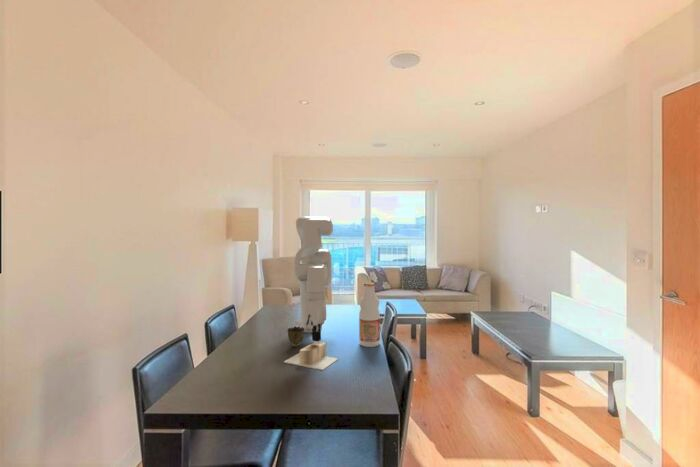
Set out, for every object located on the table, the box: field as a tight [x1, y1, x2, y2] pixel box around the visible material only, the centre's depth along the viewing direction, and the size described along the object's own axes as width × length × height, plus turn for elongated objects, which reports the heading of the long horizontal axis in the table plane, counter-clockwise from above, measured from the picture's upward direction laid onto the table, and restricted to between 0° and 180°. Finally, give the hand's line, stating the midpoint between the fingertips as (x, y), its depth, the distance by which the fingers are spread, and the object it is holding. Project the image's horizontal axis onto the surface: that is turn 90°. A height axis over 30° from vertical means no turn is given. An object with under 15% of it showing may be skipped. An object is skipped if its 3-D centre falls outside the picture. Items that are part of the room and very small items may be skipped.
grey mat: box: [283, 352, 339, 371], centre depth 137 cm, size 18×12×1 cm, turn 64°
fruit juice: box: [358, 282, 381, 348], centre depth 157 cm, size 9×9×28 cm
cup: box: [287, 326, 305, 348], centre depth 154 cm, size 8×7×8 cm
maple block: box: [299, 341, 327, 365], centre depth 138 cm, size 5×5×12 cm
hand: (316, 340), depth 140 cm, fingers closed
